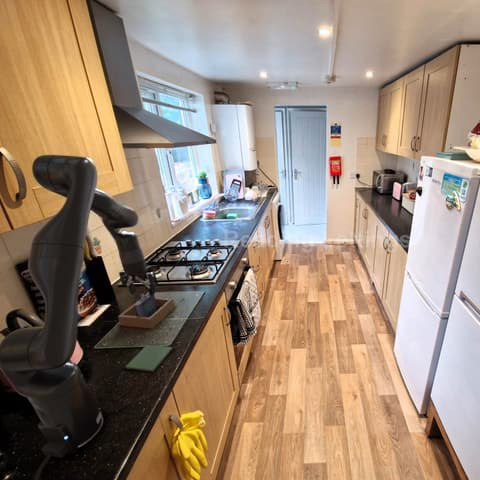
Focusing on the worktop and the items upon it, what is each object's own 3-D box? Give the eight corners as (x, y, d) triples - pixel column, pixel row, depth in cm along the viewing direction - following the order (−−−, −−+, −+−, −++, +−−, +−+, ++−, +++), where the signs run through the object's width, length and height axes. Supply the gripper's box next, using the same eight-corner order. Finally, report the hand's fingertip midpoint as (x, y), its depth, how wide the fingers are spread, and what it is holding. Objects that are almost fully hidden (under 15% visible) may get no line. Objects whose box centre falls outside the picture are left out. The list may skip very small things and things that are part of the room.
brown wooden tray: (152, 328, 106) (150, 319, 104) (120, 325, 107) (117, 316, 106) (175, 307, 119) (173, 298, 117) (146, 304, 120) (143, 296, 119)
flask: (144, 323, 108) (137, 301, 105) (137, 322, 109) (130, 300, 105) (159, 309, 117) (154, 289, 113) (153, 309, 117) (148, 288, 113)
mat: (153, 371, 86) (152, 369, 86) (125, 368, 88) (125, 366, 87) (172, 348, 96) (172, 347, 95) (147, 346, 97) (147, 344, 96)
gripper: (108, 262, 100) (120, 297, 106) (142, 264, 98) (152, 300, 105) (124, 253, 107) (134, 287, 113) (156, 255, 105) (165, 290, 112)
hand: (143, 293), depth 109 cm, fingers open, 8 cm apart
